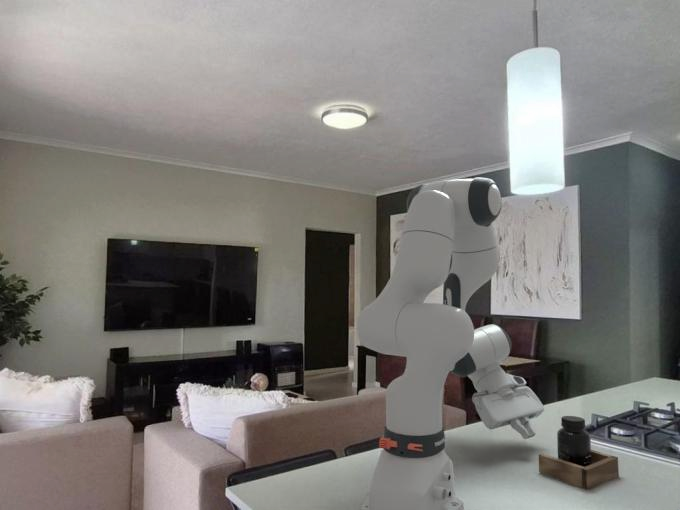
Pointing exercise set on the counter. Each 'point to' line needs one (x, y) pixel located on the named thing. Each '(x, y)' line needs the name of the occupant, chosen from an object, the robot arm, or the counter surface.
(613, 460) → the walnut holder
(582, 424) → the supplement bottle
